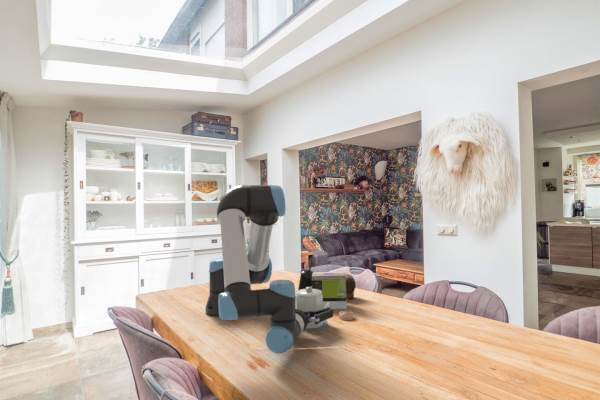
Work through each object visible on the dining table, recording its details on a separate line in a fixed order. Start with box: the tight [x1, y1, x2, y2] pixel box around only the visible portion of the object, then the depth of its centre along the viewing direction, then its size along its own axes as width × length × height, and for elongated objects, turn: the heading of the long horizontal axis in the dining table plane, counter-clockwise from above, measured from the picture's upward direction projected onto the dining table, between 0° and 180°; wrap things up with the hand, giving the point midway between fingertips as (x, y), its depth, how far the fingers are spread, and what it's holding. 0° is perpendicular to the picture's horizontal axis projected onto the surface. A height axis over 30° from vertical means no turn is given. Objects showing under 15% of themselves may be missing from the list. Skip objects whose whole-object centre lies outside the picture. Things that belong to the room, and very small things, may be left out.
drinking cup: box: [297, 260, 314, 291], centre depth 157 cm, size 8×8×20 cm
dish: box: [338, 310, 355, 321], centre depth 131 cm, size 6×6×3 cm
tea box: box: [312, 271, 348, 310], centre depth 148 cm, size 15×10×15 cm, turn 85°
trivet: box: [303, 319, 332, 332], centre depth 125 cm, size 14×14×1 cm
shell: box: [345, 273, 357, 301], centre depth 161 cm, size 11×11×12 cm
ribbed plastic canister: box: [295, 287, 323, 329], centre depth 125 cm, size 10×10×14 cm
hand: (310, 305), depth 127 cm, fingers open, 13 cm apart
